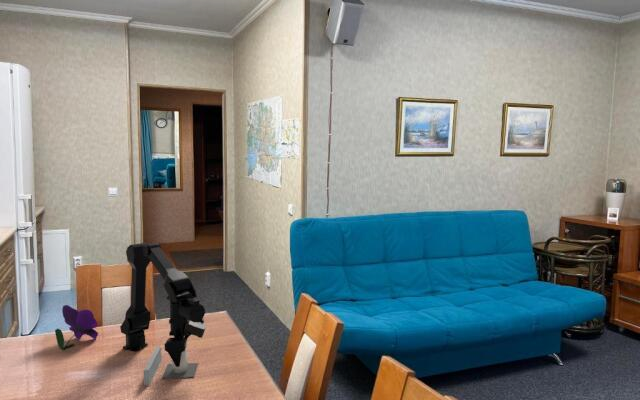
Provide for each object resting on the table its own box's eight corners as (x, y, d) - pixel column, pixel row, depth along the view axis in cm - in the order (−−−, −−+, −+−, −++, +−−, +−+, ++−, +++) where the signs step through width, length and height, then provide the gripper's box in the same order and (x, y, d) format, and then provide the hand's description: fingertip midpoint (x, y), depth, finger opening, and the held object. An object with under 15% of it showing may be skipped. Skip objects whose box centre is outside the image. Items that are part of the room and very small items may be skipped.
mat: (161, 378, 159) (161, 377, 159) (168, 365, 169) (168, 363, 169) (193, 377, 160) (193, 376, 160) (197, 364, 170) (197, 362, 170)
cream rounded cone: (169, 371, 163) (168, 354, 162) (179, 365, 168) (179, 348, 167) (181, 374, 161) (180, 356, 160) (191, 368, 165) (190, 351, 165)
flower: (87, 364, 180) (107, 335, 191) (71, 336, 172) (93, 307, 183) (52, 359, 184) (74, 331, 194) (36, 332, 175) (59, 304, 186)
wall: (149, 385, 155) (148, 370, 154) (144, 385, 154) (143, 370, 154) (161, 360, 172) (161, 346, 172) (157, 360, 172) (156, 346, 172)
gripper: (200, 324, 154) (201, 372, 155) (207, 304, 172) (208, 348, 174) (163, 325, 152) (164, 373, 154) (174, 305, 171) (175, 349, 173)
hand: (180, 360), depth 164 cm, fingers open, 9 cm apart
